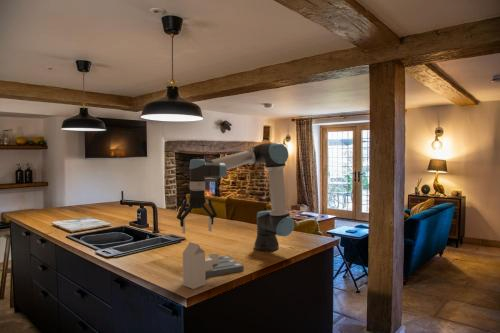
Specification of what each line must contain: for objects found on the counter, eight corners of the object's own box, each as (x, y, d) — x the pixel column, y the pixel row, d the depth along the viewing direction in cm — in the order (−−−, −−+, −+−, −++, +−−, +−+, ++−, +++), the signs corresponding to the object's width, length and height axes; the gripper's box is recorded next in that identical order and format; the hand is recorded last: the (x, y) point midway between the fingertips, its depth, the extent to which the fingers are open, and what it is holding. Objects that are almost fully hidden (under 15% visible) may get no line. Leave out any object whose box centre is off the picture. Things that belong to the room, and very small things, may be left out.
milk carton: (193, 289, 153) (192, 246, 153) (183, 285, 158) (182, 243, 157) (205, 284, 159) (205, 243, 158) (195, 281, 163) (194, 240, 163)
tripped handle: (216, 261, 183) (216, 251, 183) (218, 263, 180) (218, 253, 180) (208, 262, 181) (208, 252, 181) (211, 264, 178) (211, 254, 178)
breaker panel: (227, 259, 195) (227, 246, 195) (243, 270, 177) (243, 255, 177) (185, 266, 184) (185, 252, 184) (197, 278, 166) (197, 263, 166)
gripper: (174, 191, 168) (173, 235, 169) (223, 189, 178) (223, 231, 179) (170, 189, 175) (170, 232, 175) (218, 188, 185) (218, 228, 186)
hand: (197, 232), depth 177 cm, fingers open, 13 cm apart
